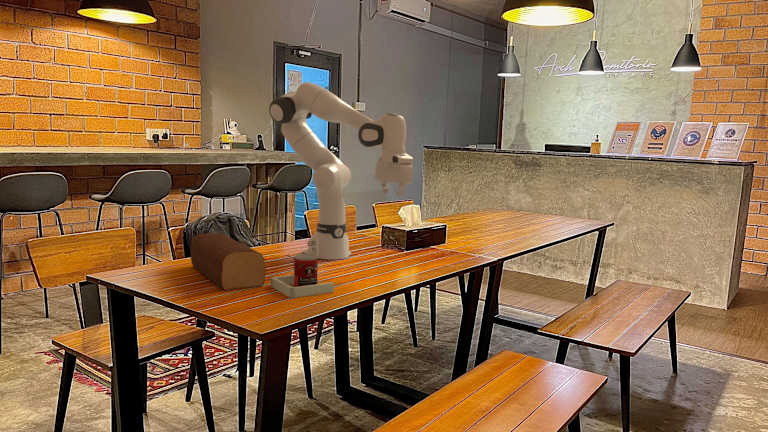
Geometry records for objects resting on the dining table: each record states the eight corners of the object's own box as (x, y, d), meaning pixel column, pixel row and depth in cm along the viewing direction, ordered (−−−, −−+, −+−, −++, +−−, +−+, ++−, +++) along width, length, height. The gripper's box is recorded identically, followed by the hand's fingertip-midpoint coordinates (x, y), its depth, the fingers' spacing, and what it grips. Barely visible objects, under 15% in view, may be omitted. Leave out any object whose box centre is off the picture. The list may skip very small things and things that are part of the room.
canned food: (297, 292, 190) (298, 259, 189) (291, 286, 197) (291, 254, 196) (320, 290, 193) (320, 257, 192) (313, 284, 200) (313, 253, 199)
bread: (220, 292, 189) (220, 251, 187) (189, 267, 221) (189, 232, 219) (266, 286, 197) (266, 247, 195) (230, 263, 229) (229, 229, 228)
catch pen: (270, 286, 197) (270, 277, 196) (311, 280, 205) (311, 272, 205) (291, 298, 183) (291, 288, 183) (333, 292, 192) (334, 283, 191)
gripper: (371, 156, 226) (370, 192, 228) (402, 158, 209) (401, 197, 211) (385, 156, 229) (384, 191, 231) (416, 159, 212) (415, 197, 214)
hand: (392, 194), depth 221 cm, fingers open, 8 cm apart
